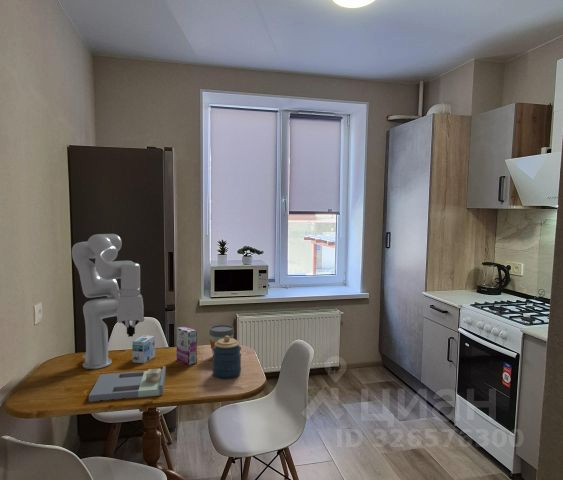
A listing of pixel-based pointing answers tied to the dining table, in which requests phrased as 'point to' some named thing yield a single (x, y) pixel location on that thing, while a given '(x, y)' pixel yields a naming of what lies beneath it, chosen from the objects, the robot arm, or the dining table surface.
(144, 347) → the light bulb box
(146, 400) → the dining table surface
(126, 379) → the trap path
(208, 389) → the dining table surface
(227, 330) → the reusable coffee cup
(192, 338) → the candy bar box
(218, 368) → the canister
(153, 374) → the clear glass block
